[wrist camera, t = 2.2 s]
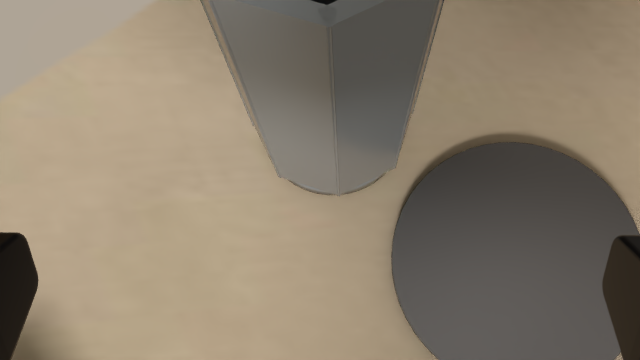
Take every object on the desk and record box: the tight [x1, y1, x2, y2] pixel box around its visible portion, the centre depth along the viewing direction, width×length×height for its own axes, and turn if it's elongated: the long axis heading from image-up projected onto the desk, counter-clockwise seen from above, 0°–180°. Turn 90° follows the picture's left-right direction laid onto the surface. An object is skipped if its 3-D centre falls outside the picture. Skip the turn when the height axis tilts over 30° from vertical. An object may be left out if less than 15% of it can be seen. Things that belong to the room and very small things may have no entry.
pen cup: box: [200, 0, 444, 196], centre depth 18 cm, size 6×6×13 cm
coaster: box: [391, 142, 640, 360], centre depth 22 cm, size 9×9×1 cm
